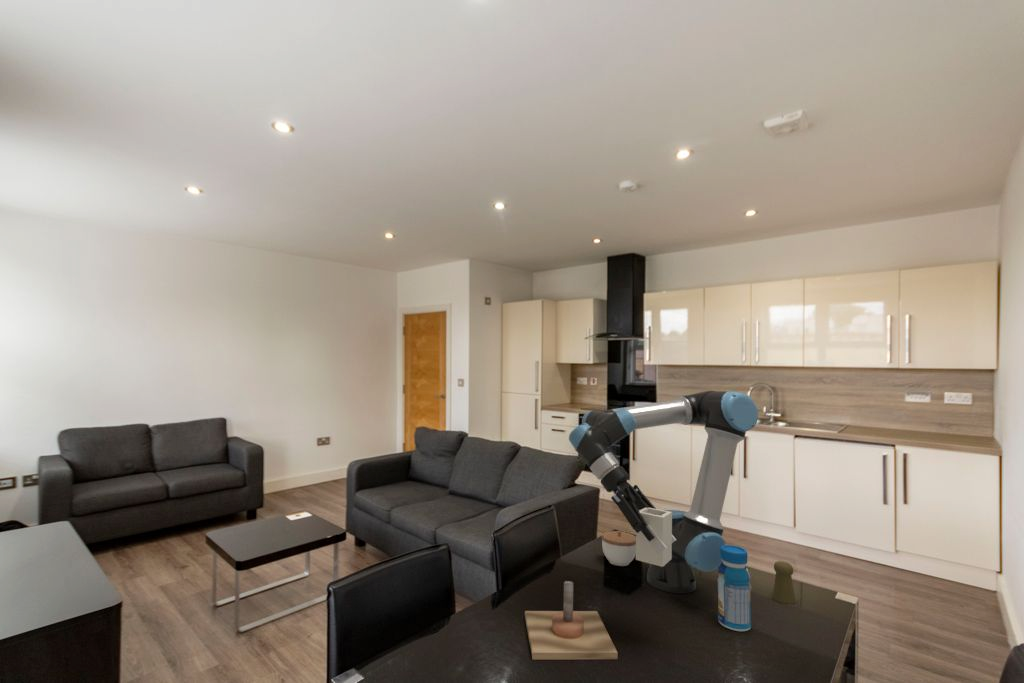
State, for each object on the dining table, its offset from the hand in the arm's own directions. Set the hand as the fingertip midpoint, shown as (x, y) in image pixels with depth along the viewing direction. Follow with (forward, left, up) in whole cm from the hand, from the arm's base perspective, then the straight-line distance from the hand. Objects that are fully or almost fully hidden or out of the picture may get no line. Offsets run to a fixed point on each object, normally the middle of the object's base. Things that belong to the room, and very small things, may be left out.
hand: (667, 546), depth 121 cm
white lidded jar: (-52, +3, -23) cm, 57 cm away
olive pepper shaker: (-23, +46, -23) cm, 57 cm away
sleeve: (-2, -3, -4) cm, 5 cm away
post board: (-2, -25, -23) cm, 34 cm away
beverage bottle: (-8, +22, -23) cm, 33 cm away
